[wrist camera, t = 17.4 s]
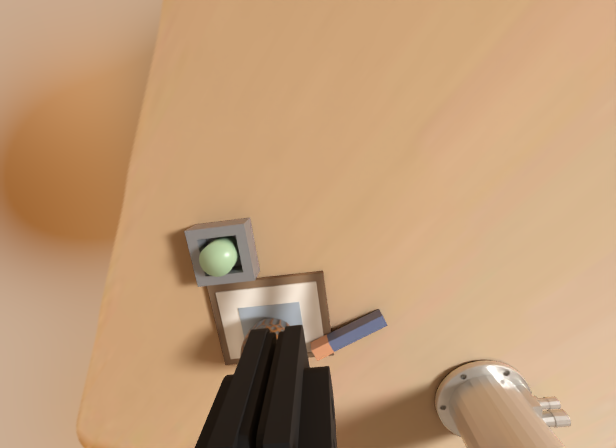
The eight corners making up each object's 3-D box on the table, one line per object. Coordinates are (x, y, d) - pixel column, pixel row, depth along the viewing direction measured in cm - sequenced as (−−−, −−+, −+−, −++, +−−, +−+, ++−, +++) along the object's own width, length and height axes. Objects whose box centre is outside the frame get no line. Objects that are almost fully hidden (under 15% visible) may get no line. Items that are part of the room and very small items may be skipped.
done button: (238, 233, 36) (229, 242, 33) (244, 262, 37) (235, 274, 34) (208, 236, 37) (195, 246, 33) (214, 265, 38) (203, 278, 34)
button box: (250, 217, 37) (244, 223, 34) (259, 270, 38) (254, 280, 35) (194, 224, 37) (184, 231, 34) (207, 276, 39) (197, 286, 36)
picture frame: (322, 270, 38) (323, 274, 37) (333, 351, 41) (333, 356, 40) (208, 283, 39) (205, 286, 38) (227, 361, 42) (224, 366, 41)
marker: (378, 308, 39) (382, 315, 37) (383, 318, 39) (387, 326, 38) (310, 342, 39) (311, 350, 38) (316, 352, 40) (317, 360, 38)
